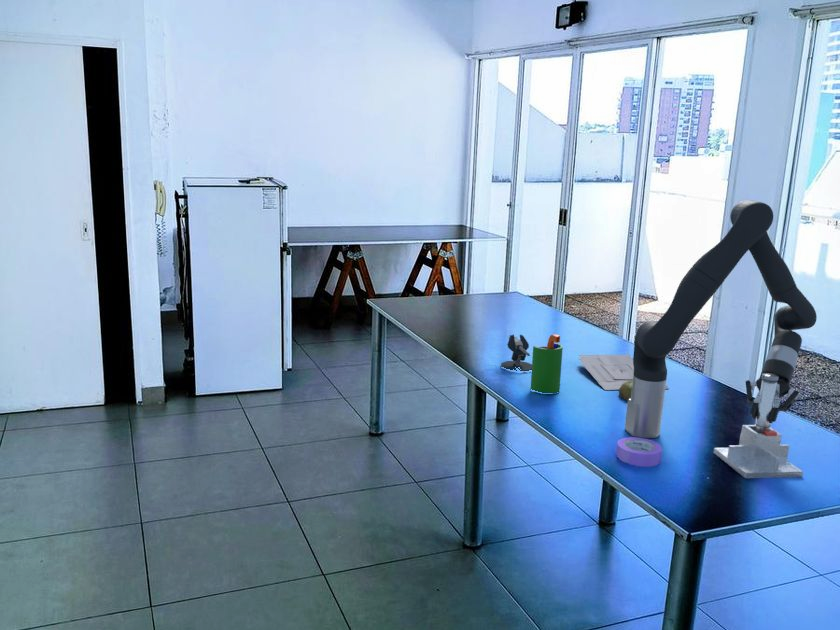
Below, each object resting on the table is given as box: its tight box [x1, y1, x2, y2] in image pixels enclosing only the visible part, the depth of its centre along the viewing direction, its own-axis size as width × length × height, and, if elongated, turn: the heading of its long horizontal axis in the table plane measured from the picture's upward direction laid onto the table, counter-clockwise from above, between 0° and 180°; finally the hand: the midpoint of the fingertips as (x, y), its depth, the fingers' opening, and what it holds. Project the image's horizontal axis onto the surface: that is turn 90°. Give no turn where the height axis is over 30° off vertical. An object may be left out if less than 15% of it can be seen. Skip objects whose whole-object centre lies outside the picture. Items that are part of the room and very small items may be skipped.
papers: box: [578, 354, 670, 391], centre depth 275 cm, size 24×30×4 cm
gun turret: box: [500, 333, 532, 371], centre depth 276 cm, size 13×20×13 cm, turn 13°
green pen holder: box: [530, 333, 564, 394], centre depth 255 cm, size 10×9×20 cm
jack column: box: [754, 373, 779, 434], centre depth 201 cm, size 4×4×23 cm
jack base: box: [713, 424, 804, 479], centre depth 203 cm, size 17×17×11 cm
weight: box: [618, 380, 633, 402], centre depth 253 cm, size 14×13×5 cm
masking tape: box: [615, 436, 663, 468], centre depth 205 cm, size 12×12×4 cm
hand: (762, 419), depth 199 cm, fingers closed on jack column, 3 cm apart
